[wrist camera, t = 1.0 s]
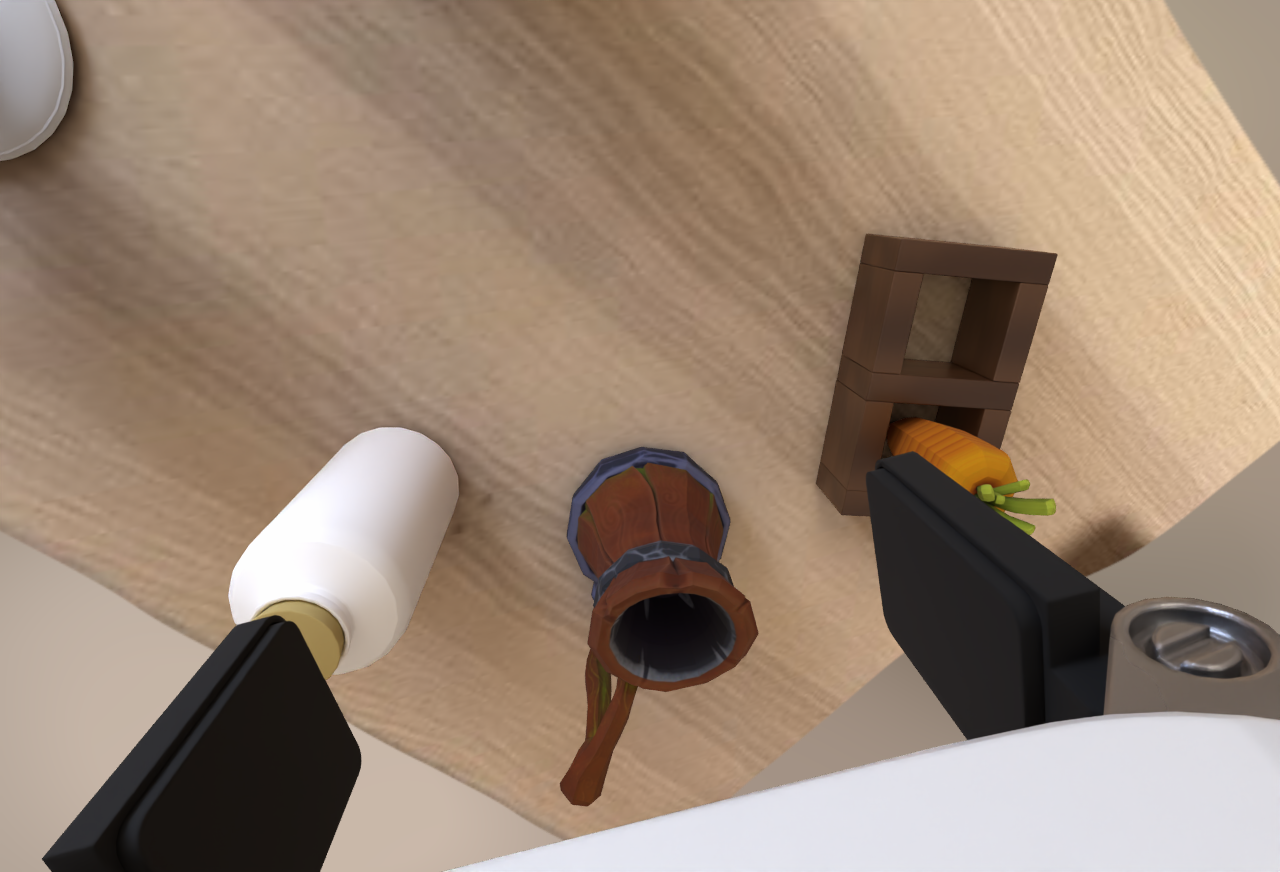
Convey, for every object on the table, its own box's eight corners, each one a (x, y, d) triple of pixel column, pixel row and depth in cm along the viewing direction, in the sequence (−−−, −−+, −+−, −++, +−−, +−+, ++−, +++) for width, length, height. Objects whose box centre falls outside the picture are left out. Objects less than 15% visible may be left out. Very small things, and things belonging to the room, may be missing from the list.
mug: (643, 670, 52) (666, 846, 38) (506, 623, 49) (476, 793, 35) (753, 479, 47) (827, 601, 33) (608, 416, 44) (620, 518, 30)
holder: (865, 233, 42) (901, 238, 37) (1006, 247, 43) (1058, 253, 38) (815, 483, 48) (841, 515, 43) (940, 490, 49) (979, 521, 44)
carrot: (858, 463, 47) (975, 575, 33) (859, 397, 46) (983, 486, 31) (925, 454, 47) (1069, 563, 33) (929, 389, 46) (1083, 474, 32)
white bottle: (468, 432, 44) (397, 579, 27) (455, 540, 47) (385, 736, 30) (338, 412, 43) (180, 553, 26) (333, 525, 45) (187, 719, 29)
